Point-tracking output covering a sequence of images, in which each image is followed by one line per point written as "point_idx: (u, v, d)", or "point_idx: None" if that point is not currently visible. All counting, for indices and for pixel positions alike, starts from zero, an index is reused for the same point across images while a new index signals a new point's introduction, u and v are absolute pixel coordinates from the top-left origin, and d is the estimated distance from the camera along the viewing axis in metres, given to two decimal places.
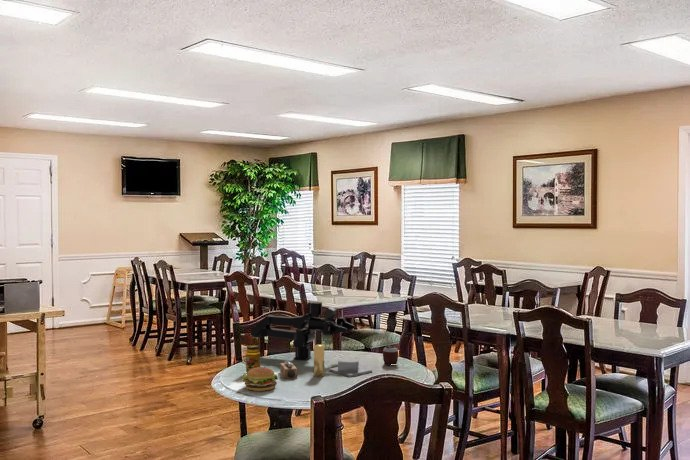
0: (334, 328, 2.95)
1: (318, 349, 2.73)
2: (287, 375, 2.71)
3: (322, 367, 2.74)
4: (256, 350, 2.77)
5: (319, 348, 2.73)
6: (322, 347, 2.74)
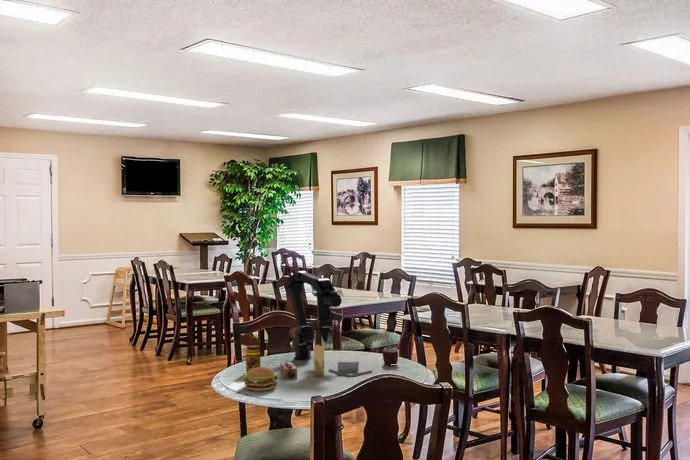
0: (325, 329, 2.88)
1: (318, 349, 2.73)
2: (287, 375, 2.71)
3: (322, 367, 2.74)
4: (256, 350, 2.77)
5: (319, 348, 2.73)
6: (322, 347, 2.74)
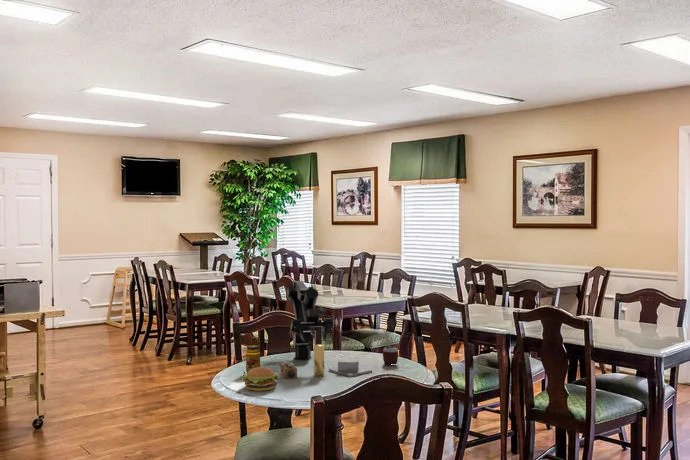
0: (300, 330, 2.85)
1: (318, 349, 2.73)
2: (287, 375, 2.71)
3: (322, 367, 2.74)
4: (256, 350, 2.77)
5: (319, 348, 2.73)
6: (322, 347, 2.74)
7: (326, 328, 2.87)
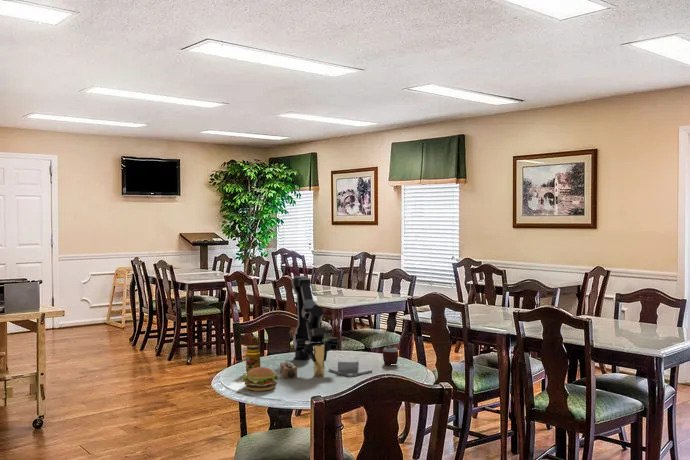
0: None
1: (318, 349, 2.73)
2: (287, 375, 2.71)
3: (322, 367, 2.74)
4: (256, 350, 2.77)
5: (319, 348, 2.73)
6: (322, 347, 2.74)
7: (326, 348, 2.78)
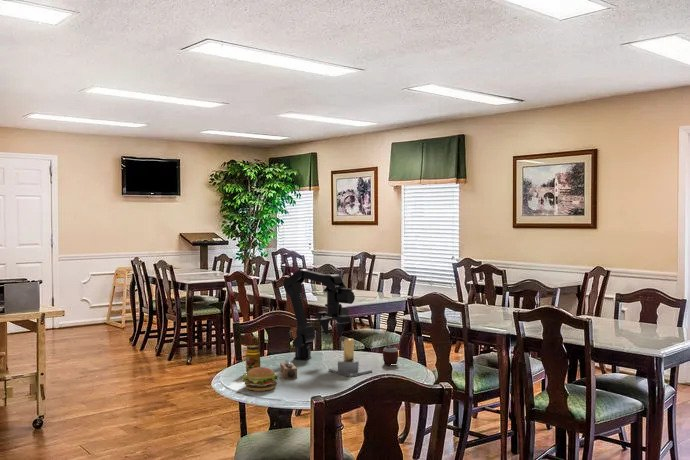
0: (341, 325, 2.93)
1: (350, 342, 2.82)
2: (287, 375, 2.71)
3: (353, 360, 2.83)
4: (256, 350, 2.77)
5: (351, 342, 2.82)
6: (353, 340, 2.83)
7: None
